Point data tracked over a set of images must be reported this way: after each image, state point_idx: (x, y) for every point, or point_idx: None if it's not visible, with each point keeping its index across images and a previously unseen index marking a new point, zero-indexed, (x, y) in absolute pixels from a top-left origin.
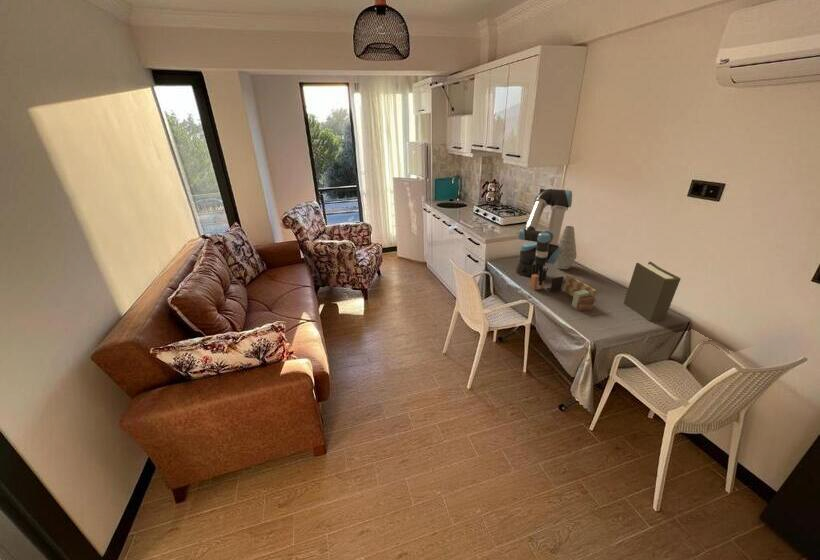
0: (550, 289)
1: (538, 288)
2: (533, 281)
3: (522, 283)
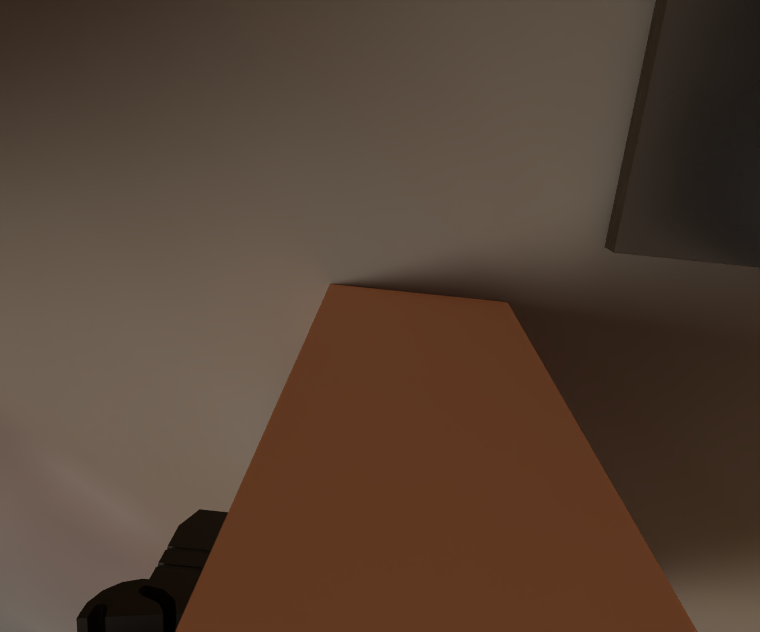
0: (757, 234)
1: None
2: None
3: (28, 573)
